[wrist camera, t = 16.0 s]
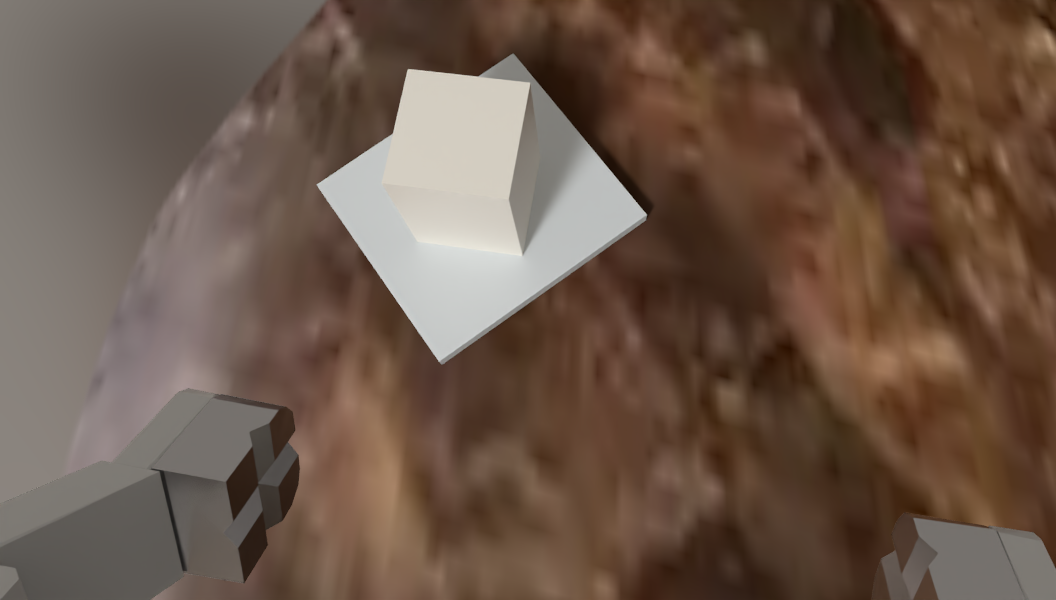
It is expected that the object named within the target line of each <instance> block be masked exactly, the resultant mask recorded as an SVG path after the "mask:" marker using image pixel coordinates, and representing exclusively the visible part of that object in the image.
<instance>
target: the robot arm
mask: <svg viewBox="0 0 1056 600" xmlns="http://www.w3.org/2000/svg"><path fill="white" fill-rule="evenodd" d="M294 432H295V424H294V418H293V412H292V411H291V410H290V409H288V408H287V407H284V406H279V405H274V404H269V403H264V402H259V401H254V400H249V399H244V398H239V397H233V396H228V395H223V394H221V395H219V394H214V393H209V392H204V391H199V390H194V389H189V388H188V389H185V390H183V391H180V392H178V393H177V394H176V395H175V396H174V397H173V398H172V399H171V400H170V401H169V402H168V403H167V404H166V405H165V406H164V408H163V409H162V410H161V411H160V412H159V413H158V414H157V415H156V416H155V417H154V418H153V419H152V420H151V421H150V422H149V423H148V425H147V426H146V427H145V428H144V429H143V430H142V431H141V432H140V433H139V434H138V435H137V436H136V437H135V438H134V439H133V440H132V441H131V443H130V444H129V445H128V446H127V447H126V448H125V449H124V450H123V451H122V452H121V453H120V454H119V455H118V456H117V457H116V458H115V460H114V461H113V462H106V461H100V462H97V463H95V464H93V465H90V466H88V467H85V468H83V469H81V470H78V471H76V472H74V473H71V474H69V475H67V476H64V477H62V478H59V479H57V480H55V481H52V482H50V483H48V484H45V485H43V486H41V487H38V488H36V489H34V490H31V491H29V492H26V493H24V494H22V495H19V496H17V497H15V498H13V499H10V500H8V501H5V502H3V503H1V504H0V600H150V599H152V598H153V597H155V596H156V595H158V594H159V593H161V592H162V591H164V590H165V589H166V588H168V587H169V586H171V585H172V584H174V583H175V582H177V581H178V580H180V579H181V578H182V577H184V573H187V574H193V575H199V576H205V577H211V578H216V579H222V580H228V581H234V582H240V583H245V581H246V580H247V578H248V576H249V575H250V573H251V571H252V570H253V568H254V567H255V565H256V563H257V562H258V560H259V558H260V557H261V555H262V554H263V552H264V550H265V549H266V547H267V545H268V544H267V537H266V530H267V529H269V528H270V527H272V526H274V525H276V524H277V523H279V522H281V521H283V519H284V517H285V516H286V514H287V512H288V510H289V509H290V507H291V505H292V503H293V499H294V496H295V493H296V490H297V487H298V482H299V470H300V467H299V457H298V454H297V453H296V451H295V450H294V449H293V448H292V447H291V445H290V444H289V443H288V441H289V439H290V438H291V436H292V435H293V433H294ZM891 535H892V539H893V542H894V546H895V550H896V551H894V552H892V553H891V554H889V555H887V556H886V557H884V558H882V559H881V561H880V564H879V566H878V569H877V572H876V575H875V578H874V585H873V593H872V600H1056V569H1055V567H1054V565H1053V563H1052V561H1051V559H1050V556H1049V554H1048V552H1047V550H1046V548H1045V546H1044V544H1043V542H1042V540H1041V539H1040V538H1039V537H1038V536H1037V535H1035V534H1034V533H1033V532H1027V531H1021V530H1014V529H1008V528H1001V527H995V526H988V527H987V526H984V525H978V524H972V523H966V522H960V521H954V520H947V519H941V518H935V517H929V516H923V515H917V514H911V513H905V512H904V514H903V515H902V516H901V517H900V518H899V519H898V520H897V522H896V525H895V527H894V529H893V532H892V534H891Z"/></svg>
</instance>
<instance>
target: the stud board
mask: <svg viewBox="0 0 1056 600" xmlns="http://www.w3.org/2000/svg"><path fill="white" fill-rule="evenodd" d="M478 77H484V78H493V79H502V80H511V81H520V82H529V83H531V91H532V98H533V106H534V113H535V121H536V128H537V136H538V143H539V150H540V162H539V168H538V173H537V179H536V185H535V190H534V196H533V201H532V207H531V213H530V218H529V224H528V229H527V235H526V241H525V246H524V252H523V256H518V255H511V254H503V253H496V252H489V251H481V250H474V249H467V248H460V247H452V246H445V245H438V244H430V243H423V242H417V240H416V239H415V237H414V236H413V234H412V232H411V231H410V229H409V227H408V226H407V224H406V222H405V221H404V219H403V217H402V216H401V214H400V213H399V211H398V209H397V208H396V206H395V204H394V203H393V201H392V199H391V198H390V196H389V195H388V193H387V191H386V190H385V188H384V186H383V185H382V179H383V175H384V170H385V166H386V162H387V157H388V153H389V149H390V144H391V140H392V136H393V134H392V135H390V136H389V137H387V138H386V139H384V140H383V141H381V142H380V143H378V144H377V145H375V146H374V147H372V148H371V149H369V150H368V151H366V152H365V153H363V154H362V155H360V156H359V157H357V158H356V159H354V160H353V161H351V162H350V163H348V164H347V165H345V166H344V167H342V168H341V169H339V170H338V171H336V172H335V173H333V174H332V175H330V176H329V177H327V178H326V179H324V180H323V181H321V182H320V183H318V184H317V186H318V188H319V189H320V191H321V192H322V193H323V195H324V196H325V198H326V199H327V201H328V202H329V204H330V205H331V206H332V208H333V209H334V211H335V212H336V214H337V215H338V217H339V218H340V219H341V221H342V222H343V224H344V225H345V227H346V228H347V230H348V231H349V232H350V234H351V235H352V237H353V238H354V240H355V241H356V243H357V244H358V245H359V247H360V248H361V250H362V251H363V253H364V254H365V256H366V257H367V258H368V260H369V261H370V263H371V264H372V266H373V267H374V268H375V270H376V271H377V273H378V274H379V276H380V277H381V279H382V280H383V281H384V283H385V284H386V286H387V287H388V289H389V290H390V292H391V293H392V294H393V296H394V297H395V299H396V300H397V302H398V303H399V305H400V306H401V307H402V309H403V310H404V312H405V313H406V315H407V316H408V318H409V319H410V320H411V322H412V323H413V325H414V326H415V328H416V329H417V331H418V332H419V333H420V335H421V336H422V338H423V339H424V341H425V342H426V344H427V345H428V346H429V348H430V349H431V351H432V352H433V354H434V355H435V357H436V358H437V359H438V361H439V362H440V363H441V364H444V363H445V362H447V361H448V360H449V359H451V358H452V357H454V356H455V355H456V354H458V353H459V352H461V351H462V350H463V349H465V348H466V347H468V346H469V345H471V344H472V343H473V342H475V341H476V340H478V339H479V338H480V337H482V336H483V335H485V334H486V333H488V332H489V331H490V330H492V329H493V328H495V327H496V326H497V325H499V324H500V323H502V322H503V321H504V320H506V319H507V318H509V317H510V316H512V315H513V314H514V313H516V312H517V311H519V310H520V309H521V308H523V307H524V306H526V305H527V304H528V303H530V302H531V301H533V300H534V299H536V298H537V297H538V296H540V295H541V294H543V293H544V292H545V291H547V290H548V289H550V288H551V287H552V286H554V285H555V284H557V283H558V282H560V281H561V280H562V279H564V278H565V277H567V276H568V275H569V274H571V273H572V272H574V271H575V270H577V269H578V268H579V267H581V266H582V265H584V264H585V263H586V262H588V261H589V260H591V259H592V258H593V257H595V256H596V255H598V254H599V253H601V252H602V251H603V250H605V249H606V248H608V247H609V246H610V245H612V244H613V243H615V242H616V241H617V240H619V239H620V238H622V237H623V236H625V235H626V234H627V233H629V232H630V231H632V230H633V229H634V228H636V227H637V226H639V225H640V224H641V223H643V222H644V221H646V217H647V214H646V213H645V212H644V211H643V209H642V208H641V207H640V206H639V205H638V203H637V202H636V201H635V200H634V199H633V197H632V196H631V195H630V194H629V193H628V191H627V190H626V189H625V188H624V187H623V185H622V184H621V183H620V182H619V180H618V179H617V178H616V177H615V176H614V174H613V173H612V172H611V171H610V170H609V168H608V167H607V166H606V165H605V164H604V162H603V161H602V160H601V159H600V157H599V156H598V155H597V154H596V153H595V151H594V150H593V149H592V148H591V147H590V145H589V144H588V143H587V142H586V141H585V139H584V138H583V137H582V136H581V135H580V133H579V132H578V131H577V130H576V128H575V127H574V126H573V125H572V124H571V122H570V121H569V120H568V119H567V118H566V116H565V115H564V114H563V113H562V112H561V110H560V109H559V108H558V107H557V106H556V104H555V103H554V102H553V101H552V99H551V98H550V97H549V96H548V95H547V93H546V92H545V91H544V90H543V89H542V87H541V86H540V85H539V84H538V83H537V81H536V80H535V79H534V78H533V77H532V75H531V74H530V73H529V72H528V70H527V69H526V68H525V67H524V66H523V64H522V63H521V62H520V61H519V60H518V58H517V57H516V56H515V55H514V54H511V55H510V56H508V57H507V58H505V59H504V60H502V61H501V62H499V63H498V64H496V65H495V66H493V67H492V68H490V69H489V70H487V71H486V72H484V73H483V74H481V75H480V76H478Z"/></svg>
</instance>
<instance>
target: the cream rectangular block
mask: <svg viewBox="0 0 1056 600" xmlns="http://www.w3.org/2000/svg"><path fill="white" fill-rule="evenodd" d="M539 162H540V150H539V143H538V136H537V128H536V121H535V113H534V106H533V98H532V91H531V83H529V82H520V81H511V80H502V79H493V78H484V77H475V76H466V75H457V74H448V73H439V72H430V71H421V70H412V69H408V71H407V75H406V80H405V84H404V88H403V93H402V97H401V101H400V106H399V110H398V114H397V118H396V123H395V127H394V131H393V136H392V140H391V144H390V149H389V153H388V157H387V162H386V166H385V170H384V175H383V179H382V185H383V186H384V188H385V190H386V191H387V193H388V195H389V196H390V198H391V199H392V201H393V203H394V204H395V206H396V208H397V209H398V211H399V213H400V214H401V216H402V217H403V219H404V221H405V222H406V224H407V226H408V227H409V229H410V231H411V232H412V234H413V236H414V237H415V239H416V240H417V242H423V243H430V244H438V245H445V246H452V247H460V248H467V249H474V250H481V251H489V252H496V253H503V254H511V255H518V256H523V252H524V246H525V241H526V235H527V229H528V224H529V218H530V213H531V207H532V201H533V196H534V190H535V185H536V179H537V173H538V168H539Z"/></svg>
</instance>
